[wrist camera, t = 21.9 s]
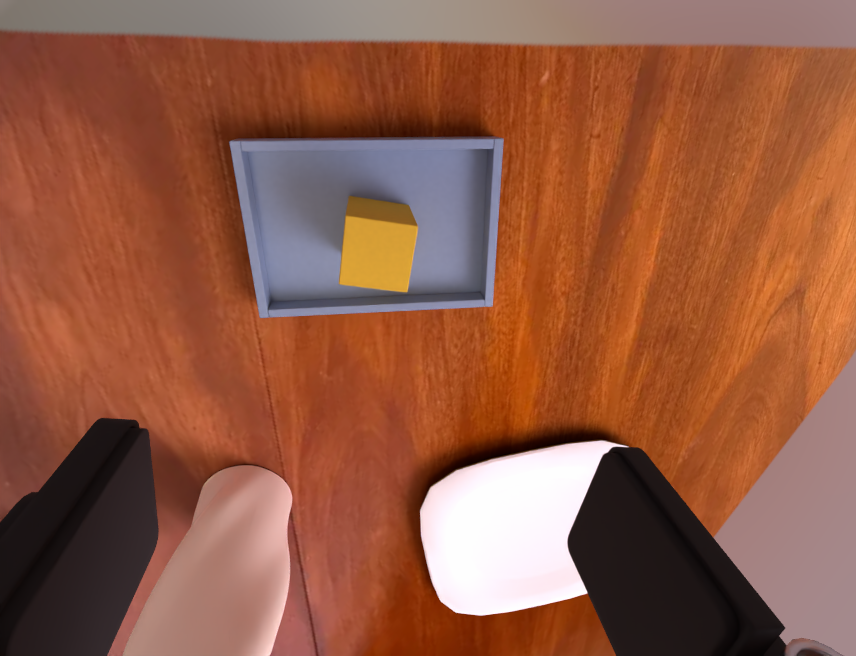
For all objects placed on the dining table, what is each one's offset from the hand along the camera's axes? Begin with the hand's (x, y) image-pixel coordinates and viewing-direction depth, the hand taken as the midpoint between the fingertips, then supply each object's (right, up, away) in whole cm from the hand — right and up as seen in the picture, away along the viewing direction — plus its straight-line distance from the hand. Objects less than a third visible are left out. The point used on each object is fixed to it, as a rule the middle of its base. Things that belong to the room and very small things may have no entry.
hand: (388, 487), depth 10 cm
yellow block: (-3, +10, +22) cm, 24 cm away
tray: (-3, +10, +22) cm, 25 cm away
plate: (+11, -16, +37) cm, 42 cm away
